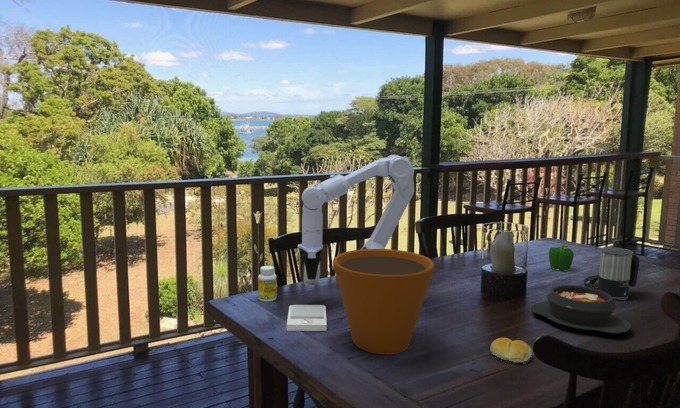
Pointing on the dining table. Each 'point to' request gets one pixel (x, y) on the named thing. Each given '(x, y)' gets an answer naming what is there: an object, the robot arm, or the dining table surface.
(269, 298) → the supplement bottle
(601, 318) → the casserole
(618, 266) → the milk frother
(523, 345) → the bread roll
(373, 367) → the dining table surface
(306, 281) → the cylinder
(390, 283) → the flower pot
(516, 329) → the dining table surface
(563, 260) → the bell pepper
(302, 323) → the scale
